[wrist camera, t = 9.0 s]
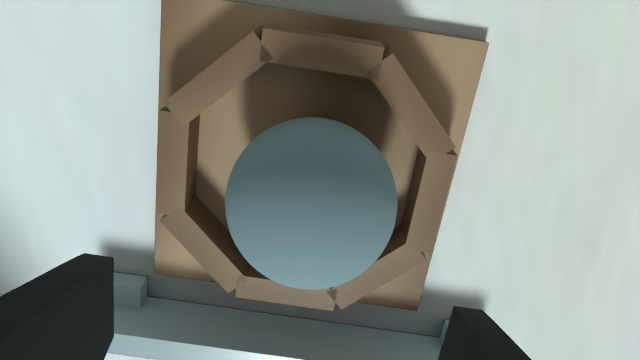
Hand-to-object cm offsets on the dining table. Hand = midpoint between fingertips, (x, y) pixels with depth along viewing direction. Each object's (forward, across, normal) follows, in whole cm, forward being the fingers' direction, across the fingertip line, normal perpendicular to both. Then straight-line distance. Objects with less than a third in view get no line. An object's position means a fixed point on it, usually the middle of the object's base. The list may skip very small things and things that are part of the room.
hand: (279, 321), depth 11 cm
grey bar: (+9, 0, +8) cm, 12 cm away
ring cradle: (+9, 0, 0) cm, 9 cm away
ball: (+6, 0, 0) cm, 6 cm away
